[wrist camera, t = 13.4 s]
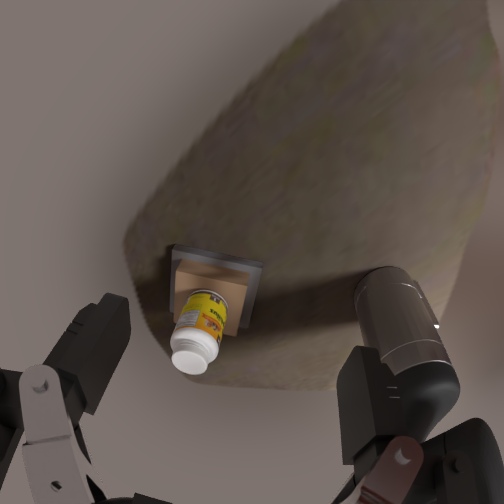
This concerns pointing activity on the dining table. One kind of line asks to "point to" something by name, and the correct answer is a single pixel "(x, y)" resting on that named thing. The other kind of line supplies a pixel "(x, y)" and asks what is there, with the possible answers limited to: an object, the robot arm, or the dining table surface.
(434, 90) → the dining table surface
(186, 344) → the supplement bottle
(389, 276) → the robot arm
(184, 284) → the pedestal
